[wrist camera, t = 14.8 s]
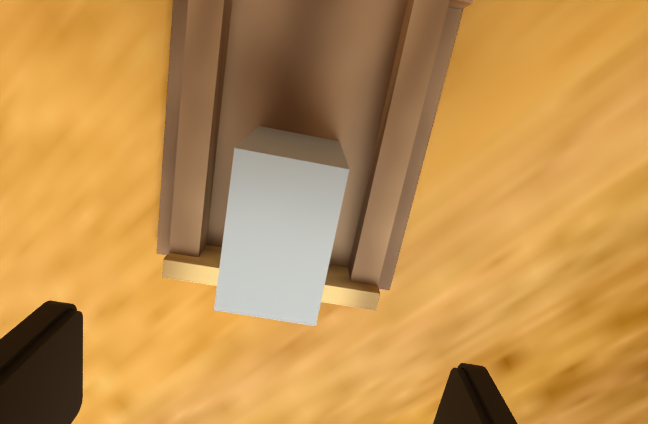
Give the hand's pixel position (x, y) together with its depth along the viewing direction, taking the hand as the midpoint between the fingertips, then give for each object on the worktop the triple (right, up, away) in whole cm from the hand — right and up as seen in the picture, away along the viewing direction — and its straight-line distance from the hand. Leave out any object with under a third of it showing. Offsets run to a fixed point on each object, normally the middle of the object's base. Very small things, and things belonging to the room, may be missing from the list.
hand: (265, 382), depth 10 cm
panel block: (-1, +5, +16) cm, 17 cm away
